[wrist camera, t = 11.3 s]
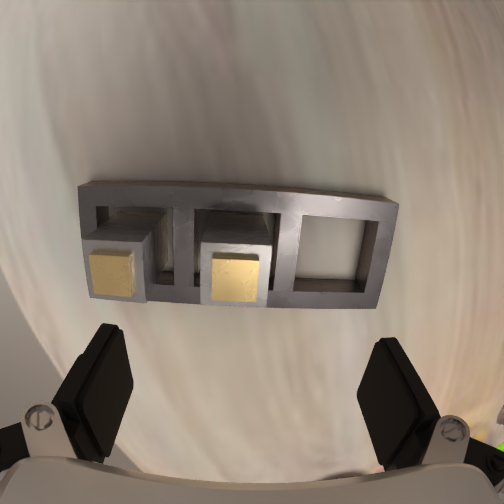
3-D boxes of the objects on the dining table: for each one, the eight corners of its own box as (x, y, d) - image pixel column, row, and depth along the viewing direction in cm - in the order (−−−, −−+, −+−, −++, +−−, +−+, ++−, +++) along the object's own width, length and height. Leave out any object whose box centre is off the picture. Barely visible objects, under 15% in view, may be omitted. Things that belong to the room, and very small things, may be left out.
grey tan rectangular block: (119, 211, 24) (77, 242, 17) (167, 212, 24) (138, 246, 17) (122, 257, 25) (86, 302, 18) (167, 260, 25) (143, 308, 18)
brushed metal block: (210, 212, 24) (199, 246, 17) (263, 214, 24) (273, 249, 17) (209, 260, 26) (199, 309, 18) (259, 263, 26) (266, 312, 19)
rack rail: (99, 282, 26) (89, 295, 24) (91, 181, 23) (77, 186, 20) (366, 295, 27) (375, 308, 25) (386, 197, 24) (399, 204, 22)
